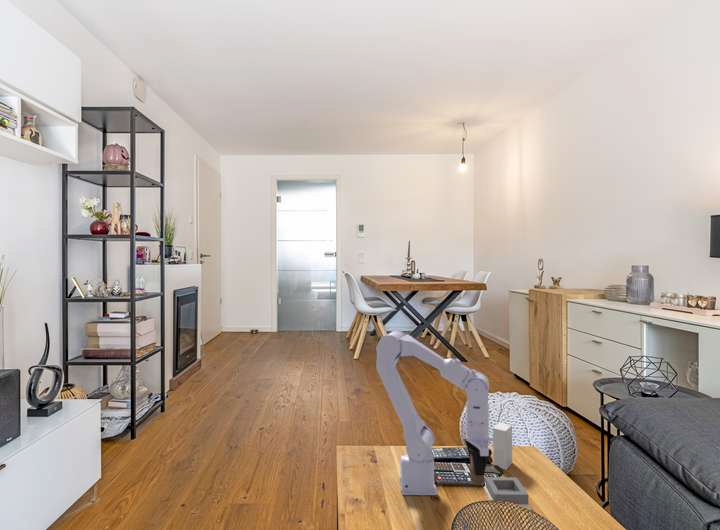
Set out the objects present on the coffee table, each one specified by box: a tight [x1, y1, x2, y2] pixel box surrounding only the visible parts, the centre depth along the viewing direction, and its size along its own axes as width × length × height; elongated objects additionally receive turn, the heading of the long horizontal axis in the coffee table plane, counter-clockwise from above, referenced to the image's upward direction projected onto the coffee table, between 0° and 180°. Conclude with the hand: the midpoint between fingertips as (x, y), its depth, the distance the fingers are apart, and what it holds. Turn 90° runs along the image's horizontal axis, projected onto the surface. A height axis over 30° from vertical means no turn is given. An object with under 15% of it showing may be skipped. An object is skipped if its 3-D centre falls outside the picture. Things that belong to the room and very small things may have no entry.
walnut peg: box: [469, 453, 485, 485], centre depth 113 cm, size 4×4×7 cm
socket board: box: [483, 476, 533, 511], centre depth 113 cm, size 9×12×4 cm
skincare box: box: [492, 422, 513, 471], centre depth 132 cm, size 6×4×12 cm
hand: (477, 470), depth 113 cm, fingers closed on walnut peg, 4 cm apart
